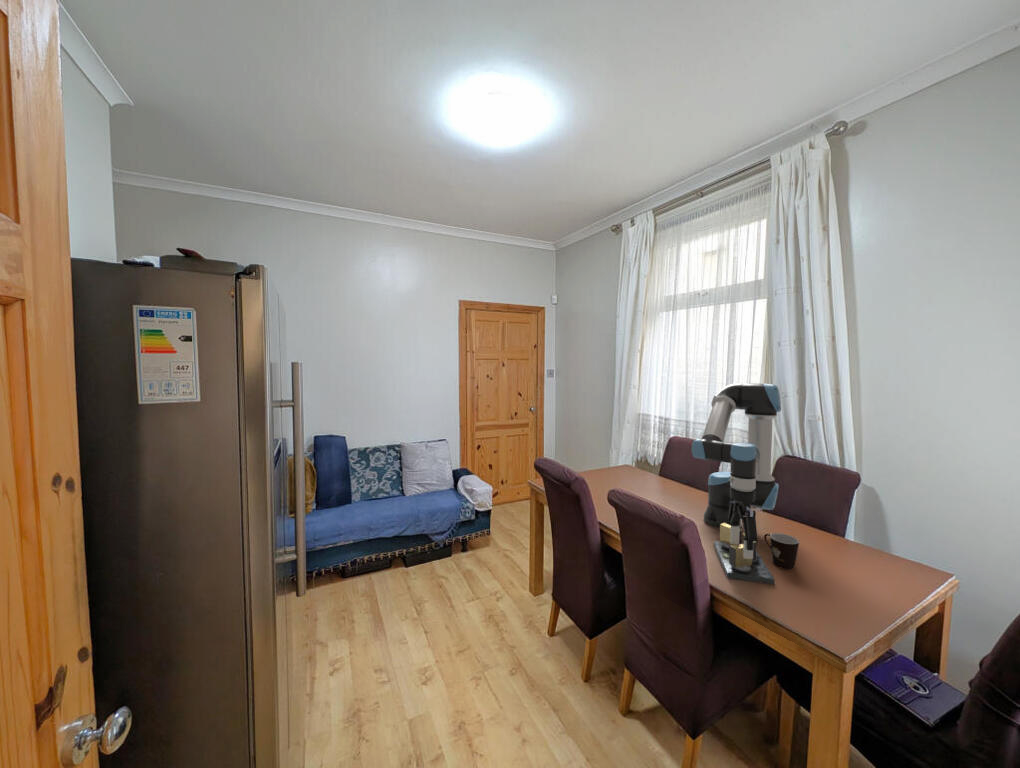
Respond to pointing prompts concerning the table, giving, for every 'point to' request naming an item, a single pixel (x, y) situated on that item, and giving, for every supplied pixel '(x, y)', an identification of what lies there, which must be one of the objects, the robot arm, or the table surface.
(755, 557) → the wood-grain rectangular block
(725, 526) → the tan block-handled knob
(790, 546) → the coffee mug
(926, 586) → the table surface
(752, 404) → the robot arm
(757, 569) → the levelling plate
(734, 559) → the tan bar handle
